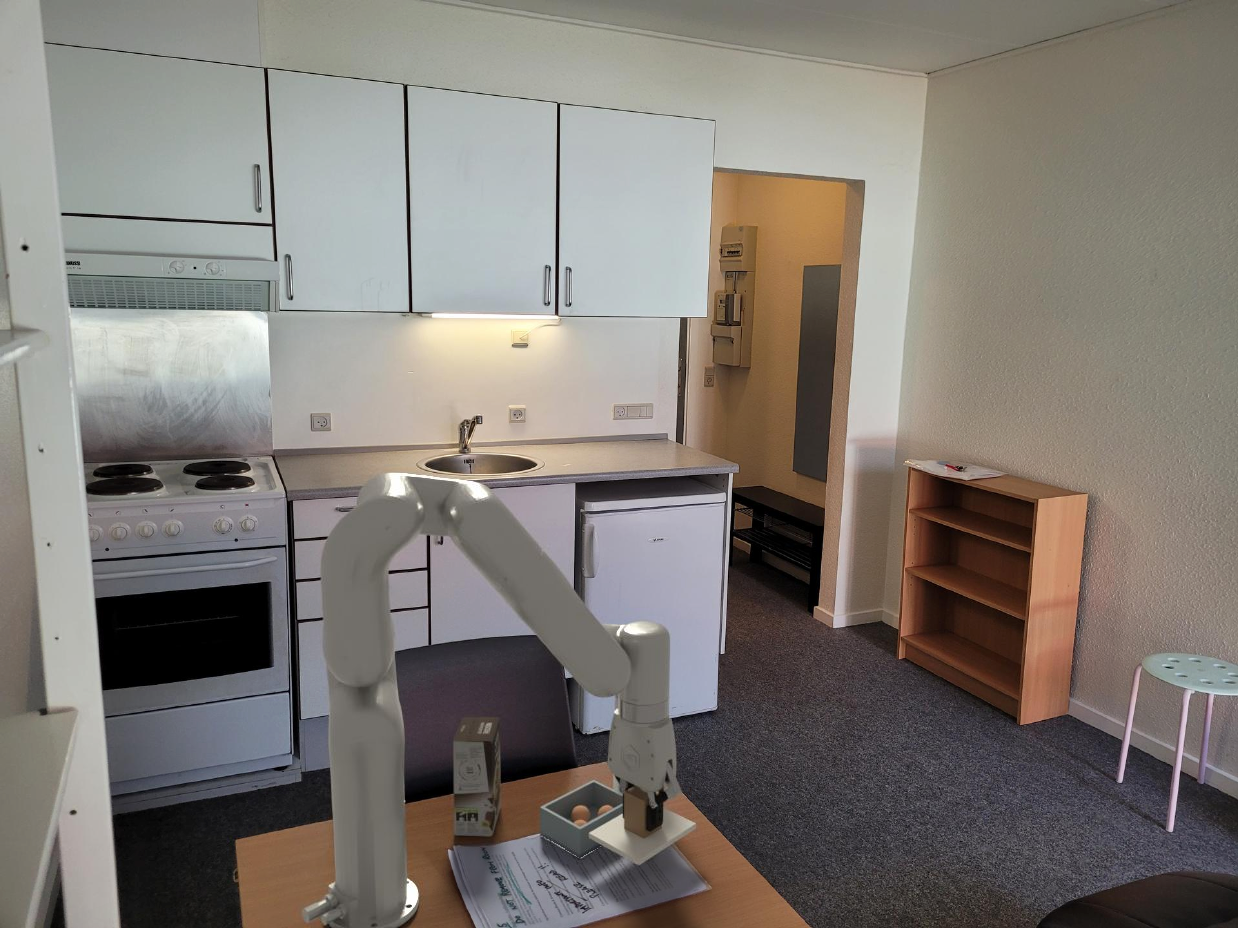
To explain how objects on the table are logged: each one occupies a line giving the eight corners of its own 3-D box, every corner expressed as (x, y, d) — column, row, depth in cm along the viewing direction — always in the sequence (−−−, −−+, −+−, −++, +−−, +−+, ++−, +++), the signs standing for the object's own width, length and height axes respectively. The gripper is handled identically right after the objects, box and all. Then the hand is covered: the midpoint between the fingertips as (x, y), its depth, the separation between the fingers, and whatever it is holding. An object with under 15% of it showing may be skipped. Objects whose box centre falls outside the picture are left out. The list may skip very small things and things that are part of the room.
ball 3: (607, 831, 146) (607, 813, 145) (593, 823, 148) (593, 806, 147) (620, 823, 148) (620, 806, 148) (606, 816, 150) (606, 799, 150)
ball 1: (580, 831, 146) (580, 813, 145) (567, 823, 148) (567, 806, 147) (593, 823, 148) (593, 806, 147) (580, 816, 150) (580, 799, 149)
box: (580, 859, 140) (580, 829, 139) (540, 836, 146) (540, 806, 145) (633, 828, 148) (633, 799, 147) (593, 807, 154) (593, 779, 154)
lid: (638, 865, 131) (639, 821, 129) (588, 837, 137) (588, 795, 136) (695, 828, 140) (696, 786, 139) (646, 804, 147) (646, 764, 145)
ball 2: (580, 846, 142) (580, 828, 141) (566, 838, 144) (566, 821, 143) (593, 838, 144) (594, 821, 143) (580, 831, 146) (580, 813, 145)
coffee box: (493, 837, 145) (492, 741, 143) (453, 836, 145) (451, 740, 143) (502, 806, 154) (501, 715, 152) (463, 805, 154) (462, 715, 152)
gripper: (585, 697, 138) (585, 810, 141) (670, 732, 127) (669, 854, 130) (619, 683, 143) (619, 792, 147) (704, 715, 132) (702, 832, 135)
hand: (642, 820), depth 138 cm, fingers closed on lid, 4 cm apart
